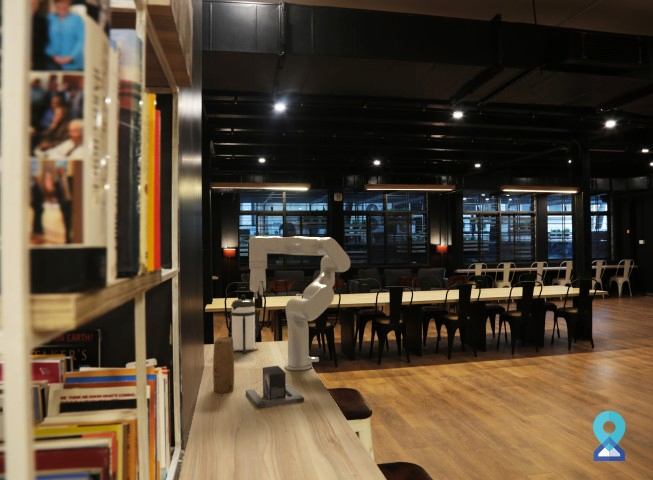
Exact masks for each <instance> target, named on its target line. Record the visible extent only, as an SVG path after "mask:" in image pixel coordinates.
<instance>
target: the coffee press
mask: <svg viewBox="0 0 653 480" xmlns="http://www.w3.org/2000/svg"><path fill="white" fill-rule="evenodd" d="M230 308H231V315H230V316H231V322H230V323H231V337H232V338H233V349H234V350H236V351H242V354H243V355H244V354H246V353H247V351H248V350H252V349H253V350H255V351H258V349H259V348H258V347H257V345H256V339H257V338H258V336H259V335H260V314H259V311H258V310H257V309H256V308H255V307H254V299H253V300H252V299H250V298H249V299H248V298H246V295H245V294H242V295H240V298H239V299H235V300H233V301H232V303H231V305H230ZM255 346H256V349H255Z"/></svg>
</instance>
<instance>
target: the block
mask: <svg viewBox="0 0 653 480" xmlns="http://www.w3.org/2000/svg"><path fill="white" fill-rule="evenodd" d="M234 350H235V349H233V338H232V336H222V337H220V336H219V337H217V338H216V339H215V341H214V344H213V354H212V355H213V356H212V357H213V359H212V360H213V362H212V367H213V368H212V375H213V377H212V380H213V382H212V383H213V391H214V392H215V393H219V394H226V393H230V392H232V391H234V388H235V387H234V386H235V351H234Z"/></svg>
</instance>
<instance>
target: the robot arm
mask: <svg viewBox="0 0 653 480" xmlns="http://www.w3.org/2000/svg"><path fill="white" fill-rule="evenodd" d="M248 241H249V242H248V244H249V246H248V249H249V250H248V252H249V253H248V257H249V259H248V261H249V262H248V263H249V265H248V266H249V268H248V269H250V273H249V274H250V275H249V276H250V277H249V290H250V291H251V292H253V293H254V294H253V295H254V299H253V301H254V307H255V309H263V308H264V306H263V302H264V301H263V300H264V299H263V297H264V296H263V294H264V292H265V291H266V289H267V281H266V280H267V279H266V278H267V277H266V269H268V254H280V255H282V254H283V255H290V256H291V255H292V256H323V257H322V258H321V259H320V260H321V261H320V273H319V275H318V276H317V278H316V279H314V280H313V281H312V282H311V283H310V284H309V285H308V286H307V287H305V289H304V291H303V292H302V293H303V294H302V297H292V298H291V299H289V300H288V301H287V302H286V306H285V316H286V322H287V362H286V363H285V364H284V369H286V370H289V371H306V370H310V369H312V367H313V363H317V362H318V363H319V361H320V358H319V357H318V356H317V357H316V356H309V354H310V350H309V349H310V348H309V346H310V345H309V343H310V341H309V339H310V337H309V336H310V335H309V333H310V332H309V331H310V330H309V324H308V323H309V322H312V321H314V320H317V318H319V317H320V316H321V315H322V314H323V313H324V312H325V310H327V309H328V308H329V306H331V305H332V303H333V302H334V298H335V291H334V289H333V287H334V286H335V283H336V282H335V281H336V279H335V278H336V277H335V276H336V275H335V274H336V273H344V272H346V271H348V270H349V269H350V267H351V259H350V256H349V255H348V254H347V253H346V252H345V250H344V249H343V247H342V246H341V245H340V244H339V243H338V242H337V241H336V239H334V238H332V237H329V236H328V237H315V236H314V237H313V236H311V237H310V236H289V237H288V236H287V237H281V236H278V235H276V236H275V235H270V236H269V235H268V236H251V237H249V239H248Z"/></svg>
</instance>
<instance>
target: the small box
mask: <svg viewBox="0 0 653 480" xmlns="http://www.w3.org/2000/svg"><path fill="white" fill-rule="evenodd" d="M286 374H287V373H286V372H285V370H284V369H282V368H281V366H279V365H273V366H266V367H265V366H264V367H262V392H263V393H262V396H264V398H265V399H266V400H271V399H278V398H285V397H287V394H286V385H287V384H286V383H287V382H286V377H287V375H286Z"/></svg>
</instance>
